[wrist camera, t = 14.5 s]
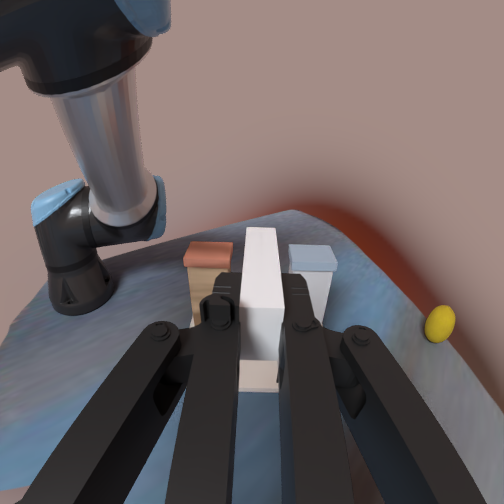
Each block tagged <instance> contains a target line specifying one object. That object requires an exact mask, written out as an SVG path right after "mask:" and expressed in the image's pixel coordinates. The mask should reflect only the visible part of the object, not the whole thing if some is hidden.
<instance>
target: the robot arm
mask: <svg viewBox="0 0 504 504" xmlns="http://www.w3.org/2000/svg"><path fill="white" fill-rule="evenodd" d="M170 6H171V5H170V0H0V72H1V71H4V70H6V69H9V68H11V67H14V66H19V67H20V69H21V71H22V74H23V76H24V79H25V81H26V84H27V86H28V88H29V89H30V91H31V92H33V93H34V94H36V95H38V96H42V97H50V99H51V101H52V104H53V107H54V109H55V112H56V114H57V117H58V119H59V122H60V124H61V127H62V129H63V131H64V134H65V136H66V138H67V141H68V143H69V145H70V147H71V149H72V152H73V154H74V156H75V158H76V160H77V163H78V164H79V167H80V169H81V171H82V173H83V175H84V177H85V179H86V181H87V183H88V185H89V186H85V183H84V182H83V180H82V179H74V180H70V181H67V182H64V183H62V184H59V185H57V186H55V187H53V188H50V189H48V190H47V191H45V192H43V193H41V194H40V195H39V196H37V197H36V198H35V199H34V200H33V202H32V204H31V213H32V219H33V226H34V228H35V232H36V235H37V239H38V243H39V246H40V249H41V252H42V255H43V259H44V262H45V265H46V268H47V271H48V290H49V298H50V301H51V303H52V306H53V308H54V309H55V310H56V311H57V312H59V313H61V314H64V315H80V314H84V313H88V312H90V311H92V310H95V309H96V308H98V307H100V306H101V305H102V304H104V303H105V302H106V301H107V300H108V299H109V298H110V296H111V295H112V293H113V289H114V284H113V281H112V277H111V274H110V273H109V271H108V269H107V268H106V266H105V265H104V263H103V262H102V260H101V259H100V257H99V256H98V254H97V250H96V248H97V247H103V246H110V245H117V244H123V243H130V242H137V241H149V240H151V239H155V238H159V237H161V236H162V235H163V233H164V231H165V226H166V216H165V215H166V196H165V187H164V182H163V180H162V178H161V177H160V176H154V175H152V174H151V173H150V172H149V171H148V170H147V169H146V168H145V167H144V162H143V154H142V146H141V137H140V127H139V117H138V105H137V92H136V74H135V66H137V65H138V64H139V63H140V62H141V61H142V60H143V59H144V58H145V57H146V56H147V54H148V53H149V51H150V49H151V46H152V37H156V36H158V35H159V34H163V33H166V32H167V31H168V30H169V29H170V27H171V7H170ZM199 308H200V316H201V323H200V324H199V325H196V326H194V327H191V328H186V329H179V330H178V328H177V326H176V325H175V324H173V323H171V322H167V321H159V322H154V323H152V324H150V325H148V326H147V327H146V328H145V329H144V330H143V331H142V332H141V334H140V335H139V336H138V338H137V339H136V340H135V341H134V343H133V344H132V345H131V346H130V348H129V349H128V350H127V352H126V353H125V354H124V355H123V357H122V358H121V359H120V361H119V362H118V363H117V365H116V366H115V367H114V368H113V370H112V371H111V372H110V374H109V375H108V376H107V378H106V379H105V380H104V382H103V383H102V384H101V386H100V387H99V388H98V390H97V391H96V392H95V394H94V395H93V396H92V398H91V399H90V401H89V402H88V403H87V405H86V406H85V407H84V409H83V410H82V411H81V413H80V414H79V416H78V417H77V418H76V420H75V421H74V423H73V424H72V425H71V427H70V428H69V430H68V431H67V432H66V434H65V435H64V437H63V438H62V439H61V441H60V442H59V444H58V445H57V447H56V448H55V450H54V451H53V452H52V454H51V455H50V457H49V458H48V460H47V461H46V463H45V464H44V466H43V467H42V469H41V470H40V472H39V473H38V475H37V476H36V478H35V479H34V481H33V482H32V484H31V485H30V487H29V489H28V490H27V492H26V493H25V495H24V497H23V498H22V500H20V501H18V502H17V503H15V504H123V503H124V501H125V499H126V498H127V496H128V494H129V492H130V490H131V488H132V487H133V485H134V483H135V481H136V479H137V477H138V476H139V474H140V472H141V470H142V468H143V466H144V465H145V463H146V461H147V459H148V457H149V455H150V454H151V452H152V450H153V448H154V446H155V444H156V443H157V441H158V439H159V437H160V435H161V433H162V431H163V430H164V428H165V426H166V424H167V422H168V420H169V419H170V417H171V415H172V413H173V411H174V409H175V407H176V406H177V404H178V402H179V400H180V398H181V396H182V394H183V393H184V391H185V389H186V393H185V398H184V403H183V408H182V413H181V418H180V423H179V428H178V433H177V438H176V443H175V448H174V454H173V459H172V465H171V470H170V476H169V482H168V488H167V494H166V500H165V504H232V487H233V470H234V454H235V438H236V422H237V406H238V391H239V375H240V360H261V361H278V356H279V367H278V374H277V380H276V383H278V387H279V412H280V441H281V478H282V504H354V497H353V489H352V482H351V475H350V468H349V462H348V455H347V449H346V443H345V437H344V431H343V426H342V420H341V415H340V411H341V413H342V415H343V417H344V419H345V421H346V423H347V425H348V427H349V429H350V431H351V433H352V435H353V437H354V439H355V442H356V444H357V446H358V448H359V450H360V452H361V454H362V456H363V458H364V460H365V462H366V464H367V466H368V468H369V470H370V472H371V475H372V477H373V479H374V481H375V483H376V485H377V487H378V489H379V491H380V493H381V495H382V497H383V500H384V502H385V504H487V503H486V502H485V500H484V498H483V496H482V494H481V492H480V491H479V489H478V487H477V485H476V483H475V482H474V480H473V478H472V476H471V475H470V473H469V471H468V470H467V468H466V466H465V464H464V463H463V461H462V459H461V458H460V456H459V454H458V453H457V451H456V450H455V448H454V446H453V445H452V443H451V442H450V440H449V438H448V437H447V435H446V434H445V432H444V430H443V429H442V427H441V426H440V424H439V423H438V421H437V420H436V418H435V417H434V415H433V414H432V412H431V410H430V409H429V407H428V406H427V404H426V403H425V402H424V400H423V399H422V397H421V396H420V394H419V393H418V391H417V390H416V388H415V387H414V385H413V384H412V382H411V381H410V380H409V378H408V377H407V375H406V374H405V372H404V371H403V370H402V368H401V367H400V365H399V364H398V363H397V361H396V360H395V358H394V357H393V356H392V354H391V353H390V351H389V350H388V349H387V347H386V346H385V345H384V343H383V342H382V341H381V339H380V338H379V336H378V335H377V334H376V333H375V332H374V331H373V330H372V329H370V328H368V327H366V326H361V325H355V326H351V327H348V328H347V329H346V330H345V331H344V333H340V332H335V331H332V330H328V329H326V328H324V327H322V325H321V323H320V321H319V320H318V319H317V318H315V316H314V311H313V307H312V302H311V298H310V295H309V290H308V285H307V281H306V279H305V278H304V277H303V276H302V275H301V274H292V273H281V271H280V263H279V254H278V246H277V238H276V230H275V228H257V227H247V231H246V241H245V252H244V262H243V272H242V273H232V272H221V273H220V274H219V275H218V276H217V277H216V278H215V282H214V287H213V290H212V294H211V295H208V296H206V297H205V298H203V299H202V300H201V302H200V303H199ZM186 387H187V388H186ZM339 409H340V410H339Z"/></svg>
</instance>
